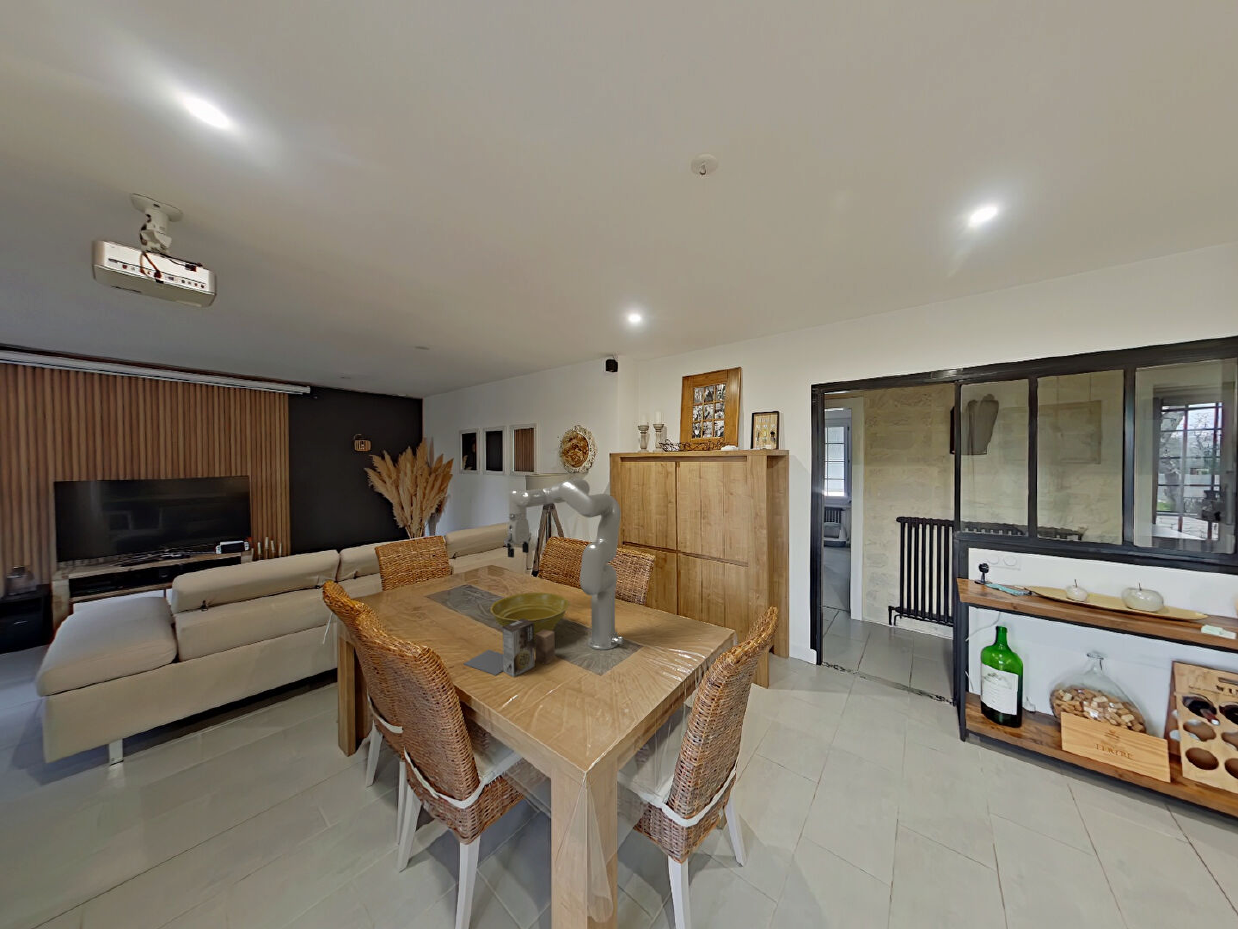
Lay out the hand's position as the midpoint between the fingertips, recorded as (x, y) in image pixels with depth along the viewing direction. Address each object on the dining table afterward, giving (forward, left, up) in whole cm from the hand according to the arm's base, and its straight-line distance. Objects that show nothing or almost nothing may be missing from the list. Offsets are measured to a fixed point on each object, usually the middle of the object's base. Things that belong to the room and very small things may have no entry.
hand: (518, 554), depth 182 cm
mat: (-16, +32, -31) cm, 47 cm away
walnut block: (-32, +21, -31) cm, 49 cm away
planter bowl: (-14, +8, -31) cm, 35 cm away
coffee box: (-28, +31, -31) cm, 52 cm away
